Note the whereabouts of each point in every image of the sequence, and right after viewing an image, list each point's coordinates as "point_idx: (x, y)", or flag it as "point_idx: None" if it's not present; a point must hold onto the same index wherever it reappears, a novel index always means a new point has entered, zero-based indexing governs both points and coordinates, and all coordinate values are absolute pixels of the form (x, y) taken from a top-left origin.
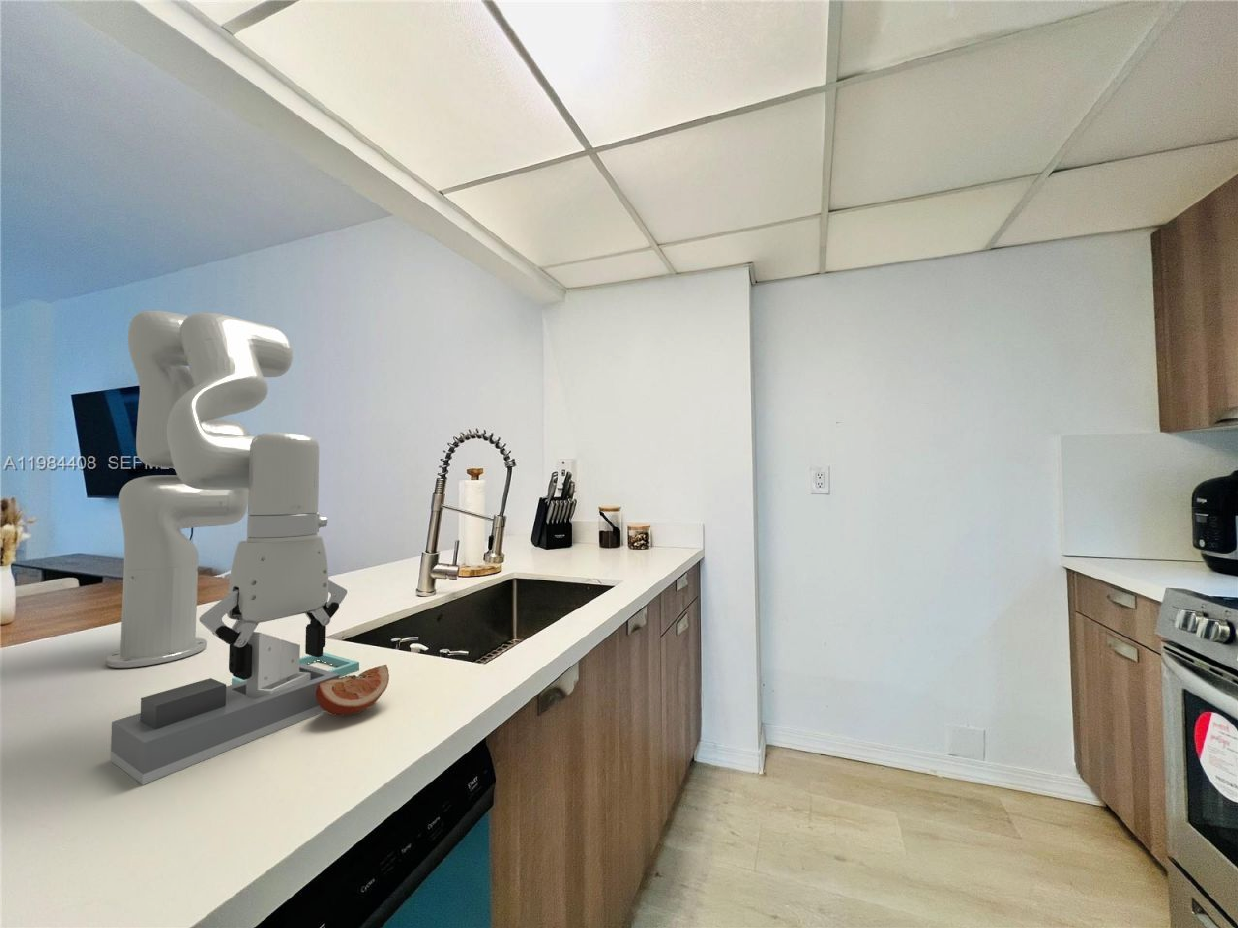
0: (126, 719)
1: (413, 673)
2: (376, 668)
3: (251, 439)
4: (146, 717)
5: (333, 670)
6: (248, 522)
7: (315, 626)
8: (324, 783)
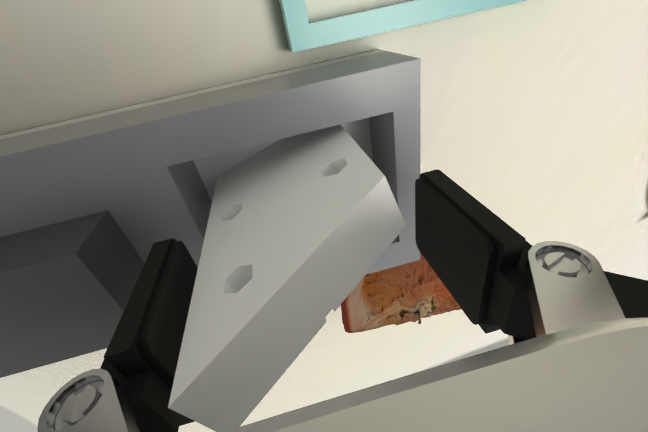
0: None
1: (572, 158)
2: None
3: None
4: None
5: (503, 1)
6: None
7: (490, 308)
8: (284, 393)
